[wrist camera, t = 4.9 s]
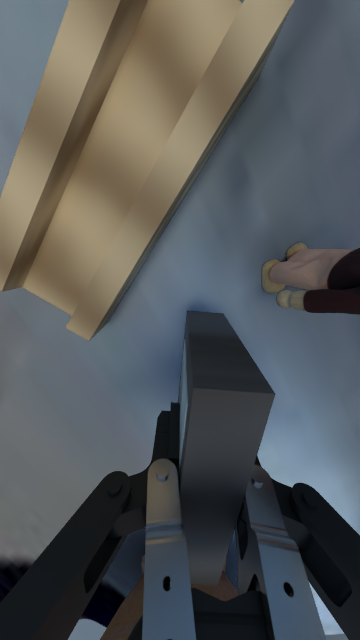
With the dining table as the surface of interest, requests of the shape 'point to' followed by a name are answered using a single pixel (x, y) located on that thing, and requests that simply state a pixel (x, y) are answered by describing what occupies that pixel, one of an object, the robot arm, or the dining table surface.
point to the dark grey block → (216, 438)
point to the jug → (133, 604)
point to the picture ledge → (122, 140)
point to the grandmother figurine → (316, 279)
